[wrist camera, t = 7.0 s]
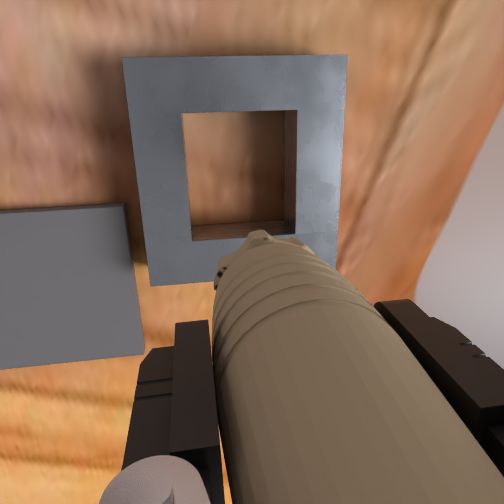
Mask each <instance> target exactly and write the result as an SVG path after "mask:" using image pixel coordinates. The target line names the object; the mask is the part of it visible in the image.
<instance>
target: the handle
mask: <svg viewBox="0 0 504 504" xmlns="http://www.w3.org/2000/svg"><path fill="white" fill-rule="evenodd" d="M214 290H216V295H215V300H214V306H213V319H212V362H213V377H214V387H215V397H216V408H217V418H218V425H219V431H220V437H221V442H222V448H223V453H224V459H225V465H226V470H227V476H228V481H229V487H230V493H231V498H232V504H504V477H503V475H502V474H501V473H500V471H499V470H498V469H497V467H496V466H495V465H494V463H493V462H492V461H491V459H490V458H489V456H488V455H487V454H486V452H485V451H484V450H483V448H482V447H481V446H480V444H479V443H478V442H477V440H476V439H475V438H474V436H473V435H472V434H471V432H470V431H469V429H468V428H467V427H466V425H465V424H464V423H463V421H462V420H461V419H460V417H459V416H458V415H457V413H456V412H455V411H454V409H453V408H452V407H451V405H450V404H449V402H448V401H447V400H446V398H445V397H444V396H443V394H442V393H441V392H440V390H439V389H438V388H437V386H436V385H435V384H434V382H433V381H432V380H431V378H430V377H429V375H428V374H427V373H426V371H425V370H424V369H423V367H422V366H421V365H420V363H419V362H418V361H417V359H416V358H415V357H414V355H413V354H412V353H411V351H410V350H409V348H408V347H407V346H406V344H405V343H404V342H403V340H402V339H401V338H400V336H399V335H398V334H397V333H396V332H395V331H394V330H393V328H392V327H391V326H390V325H389V324H388V323H387V321H386V320H385V319H384V318H383V317H382V316H381V315H380V313H379V312H378V311H377V310H376V309H375V308H374V307H373V306H372V304H371V303H370V302H369V301H368V300H367V299H366V298H365V297H364V296H363V294H361V293H360V292H359V290H358V289H357V288H356V287H355V286H353V285H352V284H351V283H350V282H349V281H348V280H347V279H346V278H345V277H343V276H342V275H341V274H340V273H339V272H338V271H336V270H335V269H334V268H333V267H331V266H330V265H329V264H328V263H326V262H325V261H323V260H322V259H321V258H319V257H318V256H316V255H315V253H314V252H313V251H312V250H311V249H310V248H309V247H308V246H306V245H305V244H304V243H303V242H301V241H300V240H298V239H296V238H294V237H291V238H288V239H282V238H276V237H274V236H271V235H269V234H268V233H267V232H266V231H265V230H256V231H252V232H250V233H249V234H248V237H247V239H246V240H245V242H244V243H243V244H242V245H241V246H240V247H239V248H238V249H237V250H236V251H235V252H233V253H232V254H230V255H228V256H224V257H221V259H220V260H219V262H218V265H217V267H216V270H215V276H214Z"/></svg>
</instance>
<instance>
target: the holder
mask: <svg viewBox="0 0 504 504" xmlns="http://www.w3.org/2000/svg"><path fill="white" fill-rule="evenodd" d="M347 57H348V55H272V56H193V57H122V64H123V72H124V80H125V88H126V96H127V104H128V112H129V120H130V128H131V136H132V144H133V151H134V159H135V167H136V175H137V183H138V191H139V199H140V207H141V215H142V223H143V231H144V238H145V246H146V254H147V262H148V270H149V278H150V286H163V285H175V284H187V283H198V282H210V281H214V276H215V270H216V267H217V265H218V262H219V260H220V259H221V257H224V256H228V255H230V254H232V253H233V252H235V251H236V250H237V249H238V248H239V247H240V246H241V245H242V244H243V243H244V242H245V240H246V239H247V237H248V234H249V233H250V232H252V231H256V230H265V231H266V232H267V233H268V234H269V235H271V236H274V237H276V238H282V239H288V238H291V237H294V238H296V239H298V240H300V241H301V242H303V243H304V244H305V245H306V246H308V247H309V248H310V249H311V250H312V251H313V252H314V253H315V255H316V256H318V257H319V258H321V259H322V260H323V261H325V262H326V263H328V264H329V265H330V266H331V267H333V268H334V269H335V270H336V256H337V238H338V220H339V202H340V184H341V166H342V147H343V129H344V111H345V93H346V75H347ZM270 110H285V149H284V220H273V221H258V222H243V223H228V224H213V225H198V226H191V215H190V203H189V190H188V178H187V166H186V153H185V141H184V129H183V117H182V113H205V112H237V111H270Z"/></svg>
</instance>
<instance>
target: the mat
mask: <svg viewBox="0 0 504 504" xmlns="http://www.w3.org/2000/svg"><path fill="white" fill-rule="evenodd" d="M144 351H145V342H144V335H143V328H142V321H141V314H140V307H139V300H138V293H137V285H136V278H135V271H134V264H133V257H132V250H131V243H130V236H129V228H128V221H127V214H126V207H125V203H119V204H101V205H84V206H67V207H50V208H33V209H15V210H0V370H2V369H11V368H21V367H30V366H40V365H49V364H58V363H68V362H77V361H87V360H96V359H106V358H115V357H125V356H134V355H144Z"/></svg>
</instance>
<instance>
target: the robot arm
mask: <svg viewBox="0 0 504 504" xmlns="http://www.w3.org/2000/svg"><path fill="white" fill-rule="evenodd" d="M374 308H375V309H376V310H377V311H378V312H379V313H380V315H381V316H382V317H383V318H384V319H385V320H386V321H387V323H388V324H389V325H390V326H391V327H392V328H393V330H394V331H395V332H396V333H397V334H398V335H399V336H400V338H401V339H402V340H403V342H404V343H405V344H406V346H407V347H408V348H409V350H410V351H411V353H412V354H413V355H414V357H415V358H416V359H417V361H418V362H419V363H420V365H421V366H422V367H423V369H424V370H425V371H426V373H427V374H428V375H429V377H430V378H431V380H432V381H433V382H434V384H435V385H436V386H437V388H438V389H439V390H440V392H441V393H442V394H443V396H444V397H445V398H446V400H447V401H448V402H449V404H450V405H451V407H452V408H453V409H454V411H455V412H456V413H457V415H458V416H459V417H460V419H461V420H462V421H463V423H464V424H465V425H466V427H467V428H468V429H469V431H470V432H471V434H472V435H473V436H474V438H475V439H476V440H477V442H478V443H479V444H480V446H481V447H482V448H483V450H484V451H485V452H486V454H487V455H488V456H489V458H490V459H491V461H492V462H493V463H494V465H495V466H496V467H497V469H498V470H499V471H500V473H501V474H502V475H503V477H504V369H502V368H501V367H500V366H499V365H498V364H497V363H495V362H494V361H493V360H492V359H491V358H490V357H486V356H485V353H484V352H483V351H482V350H480V349H479V348H478V347H477V346H476V345H472V342H471V341H470V340H469V339H468V338H466V337H465V336H464V335H463V334H462V333H461V332H460V331H458V330H457V329H456V328H455V327H452V326H450V325H449V324H446V323H444V322H442V321H440V320H438V319H436V318H434V317H429V316H428V315H427V314H426V313H424V312H423V311H422V310H421V309H420V308H419V307H418V306H417V305H416V304H415V303H414V302H412V301H411V300H409V299H402V300H392V301H383V302H377V303H375V305H374ZM99 504H225V499H224V487H223V475H222V462H221V450H220V439H219V429H218V418H217V408H216V397H215V387H214V377H213V366H212V356H211V345H210V335H209V324H208V320H200V321H190V322H181V323H176V324H175V343H174V346H170V347H161V348H153V349H152V350H151V351H150V352H149V354H148V355H147V356H146V358H145V359H144V360H143V361H142V363H141V364H140V368H139V374H138V379H137V386H136V391H135V397H134V402H133V408H132V414H131V420H130V425H129V431H128V437H127V443H126V448H125V454H124V460H123V465H122V469H121V472H120V473H119V474H118V475H117V476H116V477H114V478H113V480H112V481H111V482H110V483H109V485H108V486H107V487H106V489H105V491H104V492H103V494H102V497H101V499H100V502H99Z"/></svg>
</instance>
